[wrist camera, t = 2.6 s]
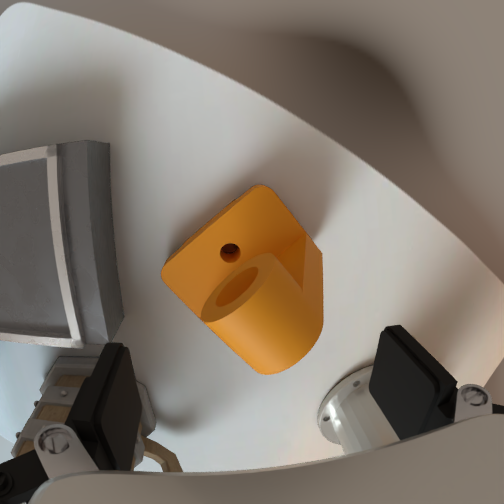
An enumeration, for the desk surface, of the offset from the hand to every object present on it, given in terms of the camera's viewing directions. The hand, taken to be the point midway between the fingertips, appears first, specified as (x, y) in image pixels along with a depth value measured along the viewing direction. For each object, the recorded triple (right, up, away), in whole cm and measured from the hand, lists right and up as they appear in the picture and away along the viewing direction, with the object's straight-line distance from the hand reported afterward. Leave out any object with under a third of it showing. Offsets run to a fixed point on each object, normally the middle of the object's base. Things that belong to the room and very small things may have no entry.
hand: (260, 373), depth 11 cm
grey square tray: (-19, +6, +14) cm, 24 cm away
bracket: (-1, +4, +16) cm, 17 cm away
